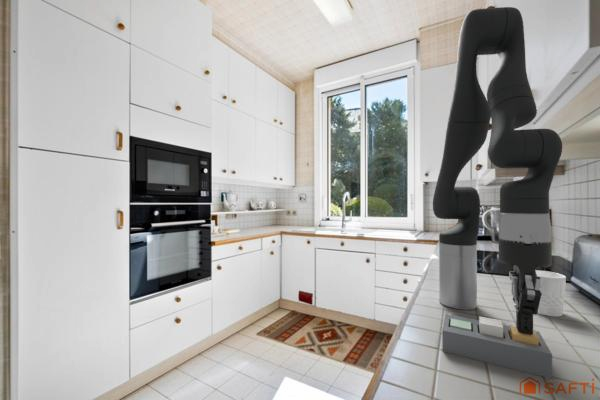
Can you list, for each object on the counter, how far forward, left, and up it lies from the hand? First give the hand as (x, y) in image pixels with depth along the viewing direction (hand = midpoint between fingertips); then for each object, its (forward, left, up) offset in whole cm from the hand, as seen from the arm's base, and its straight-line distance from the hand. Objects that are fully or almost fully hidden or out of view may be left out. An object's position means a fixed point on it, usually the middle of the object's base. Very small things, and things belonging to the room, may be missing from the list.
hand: (524, 332), depth 50 cm
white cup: (-31, +9, -5) cm, 33 cm away
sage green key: (0, -10, -3) cm, 11 cm away
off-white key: (0, -5, -1) cm, 5 cm away
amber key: (0, 0, -2) cm, 2 cm away
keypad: (0, -5, -5) cm, 7 cm away
